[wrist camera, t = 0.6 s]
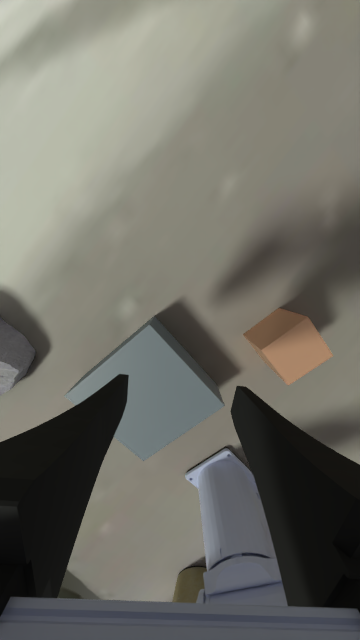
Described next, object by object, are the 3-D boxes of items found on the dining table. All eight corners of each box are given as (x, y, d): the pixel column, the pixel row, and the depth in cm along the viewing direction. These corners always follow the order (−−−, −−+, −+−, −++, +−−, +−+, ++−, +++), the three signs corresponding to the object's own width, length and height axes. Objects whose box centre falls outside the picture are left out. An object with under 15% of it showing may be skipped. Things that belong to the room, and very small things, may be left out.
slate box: (216, 382, 22) (224, 405, 18) (148, 430, 24) (143, 461, 20) (154, 315, 19) (149, 324, 15) (84, 374, 21) (64, 396, 17)
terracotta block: (299, 338, 20) (333, 355, 16) (264, 362, 21) (288, 385, 17) (278, 307, 19) (308, 316, 15) (242, 334, 20) (261, 350, 15)
